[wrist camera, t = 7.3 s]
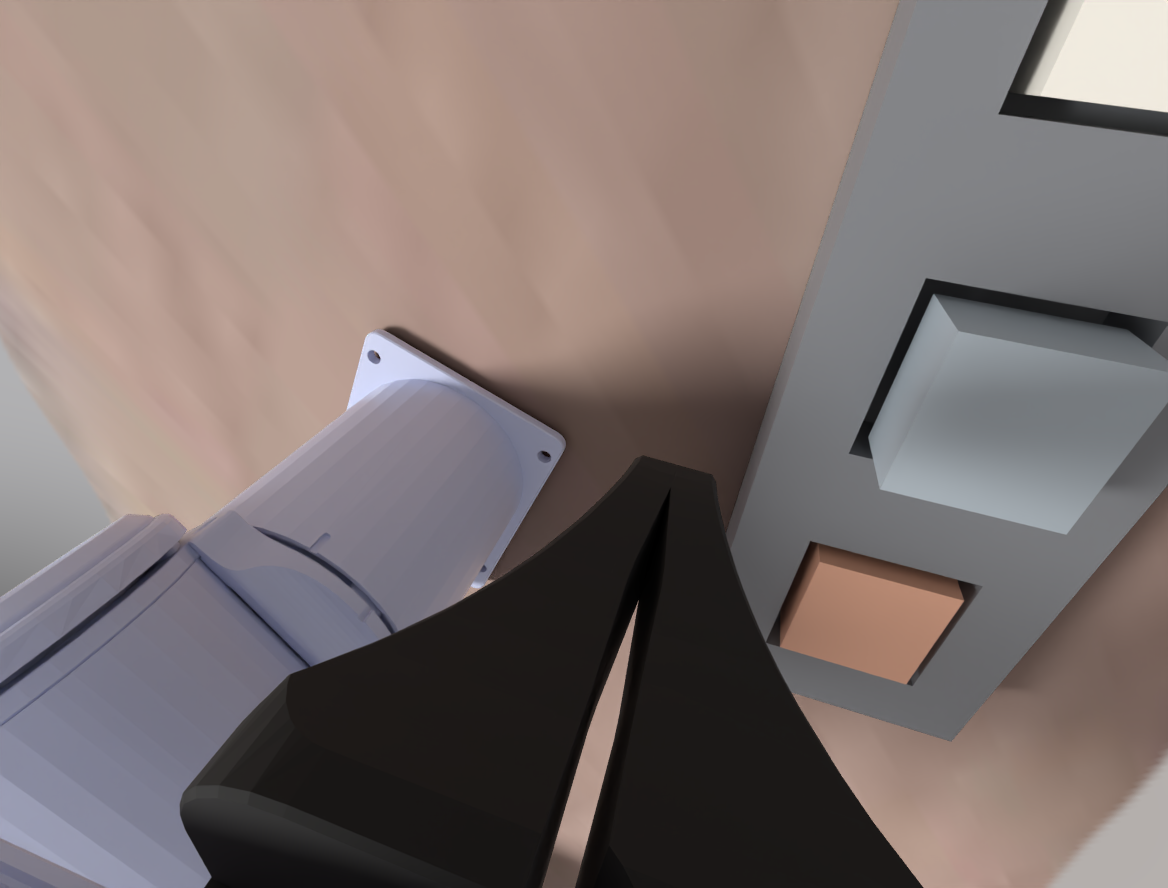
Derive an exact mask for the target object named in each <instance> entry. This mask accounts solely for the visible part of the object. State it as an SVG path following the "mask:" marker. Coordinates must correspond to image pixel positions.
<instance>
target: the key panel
mask: <svg viewBox="0 0 1168 888" xmlns="http://www.w3.org/2000/svg"><path fill="white" fill-rule="evenodd" d="M1047 2H1048V0H900V2H899V5H898V8H897V11H896V14H895V17H894V20H893V23H892V26H891V29H890V32H889V35H888V38H887V41H886V44H885V47H884V51H883V54H882V57H881V60H880V63H879V66H878V69H877V72H876V75H875V78H874V81H873V84H872V87H871V90H870V93H869V96H868V100H867V103H866V106H865V109H864V112H863V115H862V118H861V121H860V124H859V127H858V130H857V133H856V136H855V139H854V142H853V145H852V148H851V152H850V155H849V158H848V161H847V164H846V167H845V170H844V173H843V176H842V179H841V182H840V185H839V188H838V191H837V194H836V197H835V201H834V204H833V207H832V210H831V213H830V216H829V219H828V222H827V225H826V228H825V231H824V234H823V237H822V240H821V243H820V246H819V250H818V253H817V256H816V259H815V262H814V265H813V268H812V271H811V274H810V277H809V280H808V283H807V286H806V289H805V292H804V295H803V298H802V302H801V305H800V308H799V311H798V314H797V317H796V320H795V323H794V326H793V329H792V332H791V335H790V338H789V341H788V344H787V347H786V351H785V354H784V357H783V360H782V363H781V366H780V369H779V372H778V375H777V378H776V381H775V384H774V387H773V390H772V393H771V396H770V400H769V403H768V406H767V409H766V412H765V415H764V418H763V421H762V424H761V427H760V430H759V433H758V436H757V439H756V442H755V445H754V448H753V452H752V455H751V458H750V461H749V464H748V467H747V470H746V473H745V476H744V479H743V482H742V485H741V488H740V491H739V494H738V497H737V501H736V504H735V507H734V510H733V513H732V516H731V519H730V522H729V525H728V528H727V531H726V537H727V541H728V544H729V547H730V550H731V553H732V557H733V560H734V563H735V566H736V570H737V572H738V575H739V578H740V581H741V584H742V587H743V589H744V592H745V594H746V597H747V600H748V602H749V605H750V607H751V610H752V612H753V615H754V617H755V619H756V622H757V624H758V626H759V629H760V631H761V633H762V635H763V638H764V640H765V642H766V644H767V646H768V648H769V650H770V652H771V654H772V656H773V658H774V660H775V662H776V664H777V667H778V669H779V670H780V672H781V674H782V676H783V678H784V680H785V682H786V684H787V685H788V687H789V689H790V691H791V692H792V693H795V694H799V695H802V696H805V697H808V698H812V699H815V700H818V701H821V702H825V703H828V704H831V705H834V706H837V707H841V708H844V709H847V710H850V711H854V712H857V713H860V714H863V715H867V716H870V717H873V718H876V719H880V720H883V721H886V722H889V723H893V724H896V725H899V726H902V727H906V728H909V729H912V730H915V731H919V732H922V733H925V734H928V735H932V736H935V737H938V738H941V739H945V740H948V741H952V740H953V739H954V738H955V736H956V735H957V734H958V733H959V732H960V730H961V729H962V728H963V727H964V726H965V725H966V723H967V722H968V721H969V720H970V719H971V717H972V716H973V715H974V714H975V713H976V712H977V710H978V709H979V708H980V707H981V706H982V704H983V703H984V702H985V701H986V700H987V698H988V697H989V696H990V695H991V694H992V693H993V691H994V690H995V689H996V688H997V687H998V685H999V684H1000V683H1001V682H1002V681H1003V680H1004V678H1005V677H1006V676H1007V675H1008V674H1009V672H1010V671H1011V670H1012V669H1013V668H1014V667H1015V665H1016V664H1017V663H1018V662H1019V661H1020V659H1021V658H1022V657H1023V656H1024V655H1025V654H1026V652H1027V651H1028V650H1029V649H1030V648H1031V646H1032V645H1033V644H1034V643H1035V642H1036V640H1037V639H1038V638H1039V637H1040V636H1041V635H1042V633H1043V632H1044V631H1045V630H1046V629H1047V627H1048V626H1049V625H1050V624H1051V623H1052V622H1053V620H1054V619H1055V618H1056V617H1057V616H1058V614H1059V613H1060V612H1061V611H1062V610H1063V609H1064V607H1065V606H1066V605H1067V604H1068V603H1069V601H1070V600H1071V599H1072V598H1073V597H1074V595H1075V594H1076V593H1077V592H1078V591H1079V590H1080V588H1081V587H1082V586H1083V585H1084V584H1085V582H1086V581H1087V580H1088V579H1089V578H1090V577H1091V575H1092V574H1093V573H1094V572H1095V571H1096V569H1097V568H1098V567H1099V566H1100V565H1101V564H1102V562H1103V561H1104V560H1105V559H1106V558H1107V556H1108V555H1109V554H1110V553H1111V552H1112V550H1113V549H1114V548H1115V547H1116V546H1117V545H1118V543H1119V542H1120V541H1121V540H1122V539H1123V537H1124V536H1125V535H1126V534H1127V533H1128V532H1129V530H1130V529H1131V528H1132V527H1133V526H1134V524H1135V523H1136V522H1137V521H1138V520H1139V519H1140V517H1141V516H1142V515H1143V514H1144V513H1145V511H1146V510H1147V509H1148V508H1149V507H1150V505H1151V504H1152V503H1153V502H1154V501H1155V500H1156V498H1157V497H1158V496H1159V495H1160V494H1161V492H1162V491H1163V490H1164V489H1165V488H1166V487H1167V485H1168V403H1167V404H1166V406H1165V407H1164V408H1163V409H1162V411H1161V412H1160V413H1159V415H1158V416H1157V417H1156V419H1155V420H1154V421H1153V422H1152V424H1151V425H1150V426H1149V428H1148V429H1147V430H1146V432H1145V433H1144V434H1143V435H1142V437H1141V438H1140V439H1139V441H1138V442H1137V443H1136V445H1135V446H1134V447H1133V449H1132V450H1131V451H1130V452H1129V454H1128V455H1127V456H1126V458H1125V459H1124V460H1123V462H1122V463H1121V464H1120V465H1119V467H1118V468H1117V469H1116V471H1115V472H1114V473H1113V475H1112V476H1111V477H1110V478H1109V480H1108V481H1107V482H1106V484H1105V485H1104V486H1103V488H1102V489H1101V490H1100V491H1099V493H1098V494H1097V495H1096V497H1095V498H1094V499H1093V501H1092V502H1091V503H1090V505H1089V506H1088V507H1087V508H1086V510H1085V511H1084V512H1083V514H1082V515H1081V516H1080V518H1079V519H1078V520H1077V521H1076V523H1075V524H1074V525H1073V527H1072V528H1071V529H1070V531H1069V532H1068V533H1067V534H1061V533H1057V532H1053V531H1049V530H1045V529H1041V528H1037V527H1033V526H1029V525H1025V524H1020V523H1016V522H1012V521H1008V520H1004V519H1000V518H996V517H992V516H988V515H984V514H979V513H975V512H971V511H967V510H963V509H959V508H955V507H951V506H947V505H943V504H938V503H934V502H930V501H926V500H922V499H918V498H914V497H910V496H906V495H901V494H897V493H893V492H889V491H885V490H881V489H880V488H879V483H878V479H877V474H876V470H875V465H874V461H873V456H872V452H871V448H870V443H869V439H868V437H869V435H870V432H871V430H872V428H873V426H874V423H875V421H876V419H877V417H878V415H879V412H880V410H881V408H882V406H883V404H884V401H885V399H886V397H887V395H888V393H889V390H890V388H891V386H892V384H893V382H894V379H895V377H896V375H897V373H898V371H899V368H900V366H901V364H902V362H903V360H904V357H905V355H906V353H907V351H908V349H909V346H910V344H911V342H912V340H913V338H914V335H915V333H916V331H917V329H918V327H919V324H920V322H921V320H922V318H923V316H924V313H925V311H926V309H927V307H928V305H929V302H930V300H931V298H932V296H933V294H940V295H945V296H950V297H956V298H961V299H966V300H972V301H977V302H983V303H988V304H993V305H999V306H1004V307H1009V308H1015V309H1020V310H1026V311H1031V312H1036V313H1042V314H1047V315H1052V316H1058V317H1063V318H1069V319H1074V320H1079V321H1085V322H1090V323H1095V324H1101V325H1106V326H1112V327H1117V328H1122V329H1127V330H1129V331H1130V332H1131V333H1133V334H1134V335H1135V336H1137V337H1138V338H1139V339H1140V340H1142V341H1143V342H1144V343H1146V344H1147V345H1148V346H1150V347H1151V348H1152V349H1154V350H1155V351H1156V352H1157V353H1159V354H1160V355H1161V356H1163V357H1164V358H1165V359H1167V360H1168V113H1165V112H1157V111H1149V110H1141V109H1133V108H1126V107H1118V106H1110V105H1102V104H1094V103H1087V102H1079V101H1071V100H1063V99H1055V98H1047V97H1040V96H1032V95H1024V94H1016V93H1008V91H1009V89H1010V86H1011V84H1012V82H1013V80H1014V77H1015V75H1016V73H1017V70H1018V68H1019V66H1020V64H1021V61H1022V59H1023V57H1024V55H1025V52H1026V50H1027V48H1028V45H1029V43H1030V41H1031V39H1032V36H1033V34H1034V32H1035V30H1036V27H1037V25H1038V23H1039V20H1040V18H1041V16H1042V14H1043V11H1044V9H1045V7H1046V5H1047ZM810 541H812V542H816V543H820V544H824V545H828V546H831V547H835V548H839V549H843V550H847V551H850V552H854V553H858V554H862V555H866V556H869V557H873V558H877V559H881V560H885V561H888V562H892V563H896V564H900V565H904V566H907V567H911V568H915V569H919V570H923V571H926V572H930V573H934V574H938V575H942V576H945V577H949V578H953V579H957V581H958V584H959V587H960V590H961V593H962V596H963V599H964V602H963V603H962V605H961V606H960V608H959V609H958V611H957V612H956V613H955V615H954V616H953V618H952V619H951V621H950V622H949V623H948V625H947V626H946V628H945V629H944V631H943V632H942V634H941V635H940V636H939V638H938V639H937V641H936V642H935V644H934V645H933V646H932V648H931V649H930V651H929V652H928V654H927V655H926V657H925V658H924V659H923V661H922V662H921V664H920V665H919V667H918V668H917V670H916V671H915V672H914V674H913V675H912V677H911V678H910V680H909V681H908V682H907V684H903V683H899V682H896V681H893V680H889V679H886V678H882V677H879V676H876V675H872V674H869V673H866V672H862V671H859V670H855V669H852V668H849V667H845V666H842V665H839V664H835V663H832V662H828V661H825V660H822V659H818V658H815V657H812V656H808V655H805V654H801V653H798V652H795V651H791V650H788V649H785V648H781V647H780V609H781V607H782V604H783V602H784V600H785V597H786V595H787V593H788V591H789V588H790V586H791V584H792V582H793V579H794V577H795V575H796V572H797V570H798V568H799V566H800V563H801V561H802V559H803V557H804V554H805V552H806V550H807V547H808V545H809V543H810Z"/></svg>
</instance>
